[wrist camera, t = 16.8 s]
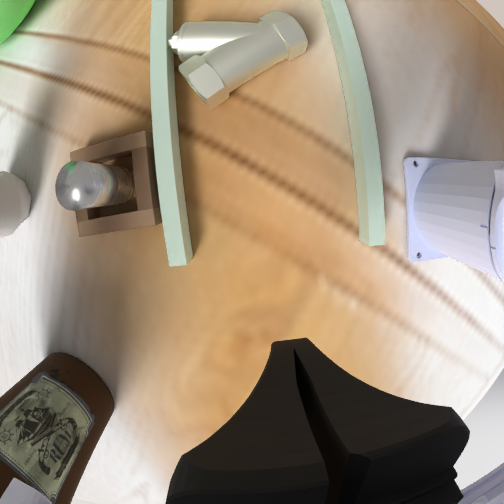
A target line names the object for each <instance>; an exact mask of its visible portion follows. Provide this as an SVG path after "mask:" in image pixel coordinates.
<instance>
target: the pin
mask: <svg viewBox="0 0 504 504" xmlns="http://www.w3.org/2000/svg"><path fill="white" fill-rule="evenodd" d="M134 189H135V182H134V177H133V175H132V173H131V172H130V171H129V170H128V169H126V168H124V167H118V166H112V165H105V164H98V163H90V162H83V161H71V162H69V163H67V164H66V165H64V166H63V168H62V169H61V170H60V172H59V174H58V176H57V180H56V196H57V199H58V201H59V203H60V204H61V205H62V206H63V207H64V208H65V209H68V210H79V209H86V208H94V207H101V206H109V205H117V204H123V203H125V202H127V201H128V200H129V199H130V198H131V196H132V195H133V192H134Z"/></svg>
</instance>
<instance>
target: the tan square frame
mask: <svg viewBox="0 0 504 504" xmlns="http://www.w3.org/2000/svg"><path fill="white" fill-rule="evenodd" d="M128 155H132V162H133V173H134V182H135V191H136V199H137V207H138V211H133V212H127V213H121V214H116V215H110V216H105V217H100V211H99V207H94V208H86V209H79V210H75V211H76V218H77V225H78V231H79V237H83V236H89V235H95V234H101V233H107V232H113V231H120V230H126V229H133V228H140V227H147V226H154V225H157V224H160V223H162V216H161V209H160V201H159V193H158V184H157V175H156V165H155V154H154V142H153V134H152V133H150V132H148V131H146V130H144V131H140V132H136V133H132V134H128V135H125V136H121V137H117V138H114V139H110V140H107V141H104V142H100V143H97V144H94V145H91V146H88V147H85V148H82V149H79V150H76V151H73V152H70V158H71V161H83V162H90V163H101V162H104V161H108V160H112V159H116V158H120V157H124V156H128Z"/></svg>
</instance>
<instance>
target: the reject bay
mask: <svg viewBox="0 0 504 504" xmlns="http://www.w3.org/2000/svg"><path fill="white" fill-rule="evenodd" d="M321 2H322V5H323V8H324V12H325V15H326V19H327V22H328V26H329V30H330V33H331V37H332V41H333V45H334V49H335V53H336V58H337V62H338V67H339V71H340V76H341V81H342V86H343V91H344V97H345V103H346V108H347V115H348V121H349V128H350V135H351V142H352V150H353V159H354V168H355V178H356V190H357V204H358V221H359V241H361V242H362V243H364V244H366V245H368V246H377V245H385V216H384V197H383V183H382V172H381V162H380V153H379V145H378V137H377V130H376V124H375V117H374V112H373V106H372V100H371V95H370V90H369V85H368V81H367V76H366V72H365V68H364V63H363V59H362V55H361V52H360V48H359V44H358V41H357V37H356V34H355V30H354V27H353V24H352V21H351V17H350V14H349V11H348V8H347V5H346V3H345V0H321ZM170 37H173V0H152V8H151V32H150V86H151V111H152V128H153V142H154V154H155V165H156V175H157V184H158V193H159V201H160V209H161V216H162V223H163V230H164V236H165V243H166V249H167V255H168V261H169V267H172V266H182V265H187V264H188V263H189V262H190V261H191V260H192V259H193V252H192V246H191V239H190V232H189V225H188V217H187V210H186V202H185V193H184V185H183V176H182V167H181V157H180V146H179V135H178V123H177V109H176V93H175V74H174V52H173V51H172V49H170V48H169V47H168V43H167V41H168V39H169V38H170Z"/></svg>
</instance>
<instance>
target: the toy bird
mask: <svg viewBox="0 0 504 504" xmlns="http://www.w3.org/2000/svg"><path fill="white" fill-rule="evenodd" d="M35 1H36V0H0V44H1V43H3V42H4V41H5V40H6V39H7V38H8V37H9V36H10V35H11V34H12V33H13V32H14V30H15V29H16V28H17V27H18V26H19V24H20V23H21V22H22V21H23V19H24V18H25V17H26V15H27V14H28V12H29V11H30V9H31V8H32V6H33V4H34V2H35Z"/></svg>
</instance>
